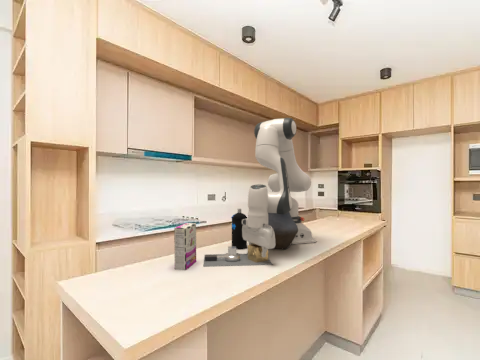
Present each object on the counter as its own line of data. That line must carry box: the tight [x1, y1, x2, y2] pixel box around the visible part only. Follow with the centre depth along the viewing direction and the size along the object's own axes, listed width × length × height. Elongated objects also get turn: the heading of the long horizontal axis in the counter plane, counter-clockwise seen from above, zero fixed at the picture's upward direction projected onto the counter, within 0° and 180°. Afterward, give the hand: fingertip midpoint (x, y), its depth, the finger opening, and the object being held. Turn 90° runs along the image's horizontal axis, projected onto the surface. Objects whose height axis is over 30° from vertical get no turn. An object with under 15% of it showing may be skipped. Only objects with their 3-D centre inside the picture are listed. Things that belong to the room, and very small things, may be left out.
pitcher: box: [268, 212, 298, 251], centre depth 134 cm, size 21×22×25 cm
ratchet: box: [204, 245, 241, 262], centre depth 111 cm, size 15×7×5 cm, turn 96°
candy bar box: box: [173, 222, 197, 271], centre depth 104 cm, size 11×5×16 cm, turn 168°
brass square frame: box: [247, 244, 269, 263], centre depth 112 cm, size 6×6×6 cm
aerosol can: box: [230, 208, 248, 251], centre depth 132 cm, size 8×8×20 cm
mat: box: [202, 253, 274, 268], centre depth 112 cm, size 28×17×1 cm, turn 96°
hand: (257, 254), depth 112 cm, fingers closed on brass square frame, 6 cm apart
